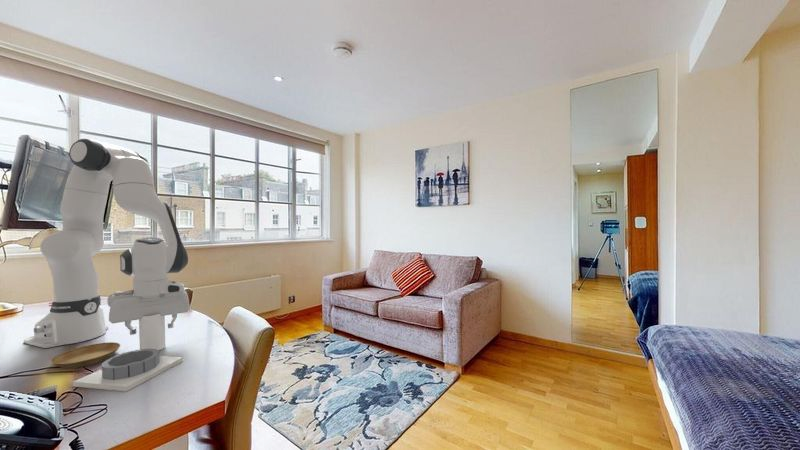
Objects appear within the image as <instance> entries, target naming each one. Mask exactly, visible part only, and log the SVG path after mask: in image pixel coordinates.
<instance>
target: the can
mask: <svg viewBox="0 0 800 450" xmlns="http://www.w3.org/2000/svg"><path fill="white" fill-rule="evenodd" d="M165 316H166V315H165ZM165 316H161V315H160V313H158V314H153V315H143V318H142V319H139V320H138V325H139V326H138V329H139V331H138V333H139V335H138V336H139V338H138V339H139V350H141V349H157V350H158V351H159V352H160V351H161V350H163V349H164V348H165V347H166V319H165Z"/></svg>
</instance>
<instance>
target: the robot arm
mask: <svg viewBox="0 0 800 450" xmlns="http://www.w3.org/2000/svg"><path fill="white" fill-rule="evenodd" d="M68 154H69V159H70V161H71V163H72V164H73V166H72V168H71V170H70V171H69V173H68V176H67V179H66V182H65V184H64V185H65V186H64V190H63V194H62V199H61V204H60V209H59V212H60V214H61V217H62V219H61V220H62V229H61V230H57V231H55V232H53V233H52V232H51V233H50V234H49V235H47V236H46V237H45V238H44V239H43V240H42V241H41V243H40V245H39V246H40V247H39V249H40V252H41V254H42V256H44V258H46V261H47V264H48V265H47V266H48V267H49V269H50V270H49V271H50V272H51V276H52V282H53V283H52V284H53V301H52V302H49V303H48V307H50V309H49V313H47V314H46V316H44V317H43V318H41V319H40V320H39V321H37V322H36V323H35V324H34V328H33V332H34V333H33V335H32V336H29V337H27V338H26V339H24V340H23V343H24V344H27V345H31V346H35V347H37V348H38V347H39V348H42V349H47V348H53V347H58V346H65V345H72V344H76V343H82V342H87V341H89V340H92V339H95V338H98V337H101V336H103V335H105V334H106V332H107V330H109V326H108V325H106V321H105V313H104V309H103V308H102V307H101V305H102V304H101V303H102V299H101V295H100V294H99V293H100V292H99V275H98V272H97V270H96V268H95V265H94V262H93V258H92V257H93V256H95V255H97V254H98V253H99V252H100V251H101V250H102V249H103V247H104V244H105V242H104V217H105V215H104V214H105V208H106V205H107V199H108V195H109V190H110V185H111V182H112V190H113V196H114V200H115V203H116V204H117V205H118V206H119V207H120V208H121V209H123V210H125V211H126V212H128V213H131V214H133V215H137V216H141V217H143V218H147V219H150V220H152V221H154V222H155V223H157V224H158V225H159V228H160V232H161V235H162V237H163V238H159V237H141V238H137V239H135V240H134V242H133V247H131V248H128V249H126V250H124V251H123V252H122V253H121V254H120V255H119V261H120V262H119V263H120V272H122V273H123V274H125V275H127V276H129V277H130V276H131V277H133V279H132V287H133V288H132V289H131V290H125V291H124V290H123V291H115V292H113V293H112V294H109V295H108V296H107V306H108V307H109V312H108V321H109V322H110V323H111V324H119V323H124V326H125V327H126V328H127V329H128V331H129V335H130V336H131V335H132V336H133V335H137V331H138V330H137V327H136V326H135V327H133V326H132V321H139V319H142V318H143V315H153V314H158V313H160V315H161V316H170V315H171V321H167V329H172V328H174V323H175V322H176V320H177V318H178V314H185V313H188V312H189V310H190V308H191V307H190V300H189V295H188V293H187V291H186V290H185V284H184V282H181V281H175V280H169V275H168V274H176V273H180V272H181V271H183V269H184V268H186V266H187V265H188V263H189V256H188V252H187V250H186V248H185V245H184V244H183V242H182V238H181V235H180V233H179V230H178V226H177V224H176V221H175V217H174V215H173V213H172V211H171V208H170V206H169V204H168V203H166V202H164V201H162V200H161V198H160V197H159V196H158V195H157V192H156V188H155V187H156V186H155V180H154V177H153V176H154V175H153V173H152V170H151V168H150V165H149V162H148V159H147V158H146V157H145V156H144V155H142V154H141V153H138V152H136V151H132V150H130V149H127V148H124V147H122V146H119V145H115V144H109V143H106V142H101V141H98V140H96V139H90V138H80V139H77V140H76V141H75V142H73V143H72V145H71V146H70V148H69V151H68Z"/></svg>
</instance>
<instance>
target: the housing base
mask: <svg viewBox="0 0 800 450" xmlns="http://www.w3.org/2000/svg"><path fill="white" fill-rule="evenodd" d="M183 359H184V358H183V357H182V356H167V355H160V351H158V350H157V349H141V350H140V349H135V350H130V351H126V352H122V353H120V354H116V355H114V356H111V357H109V358H108V359H106V360H104V361H102V363H101V369H99V370H96V371H94V372H92V373H89V374H88V375H85V376H83V377H81V378H78V379H76V380H73V381H72V387H75V388H76V387H77V388H85V389H86V388H87V389H97V390H98V389H99V390H105V391H116V392H117V391H118V392H128V391H129V390H132V389H134V388H136V387H137V386H139V385H141V384H143V383H145V382H147V381H148V380H151V379H152V378H154V377H156V376H158V375H160V374H162V373H164V372H165V371H168V370H169V369H171V368H173V367H175V366H177V365H179V364H181V363H183V361H184V360H183Z"/></svg>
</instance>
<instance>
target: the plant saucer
mask: <svg viewBox="0 0 800 450" xmlns="http://www.w3.org/2000/svg"><path fill="white" fill-rule="evenodd" d="M120 347H121V344H120V343H118V342H112V341H111V342H110V341H107V342H99V343H93V344H89V345H84V346H80V347H76V348H74V349H73V348H72V349H70V350H66V351H63V352H61V353H59V354H57V355H55V356H54V357H52V358H51V359H50V363H51V364H53V365H54V366H56V367H59V368H61V369H65V370H66V369H77V368H82V367H87V366H91V365H95V364H98V363H100V362H105V361H106V360H107V359H109V358H111V357H113V355H115V353H116V352H117V351H118V350H119V349H120Z"/></svg>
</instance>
